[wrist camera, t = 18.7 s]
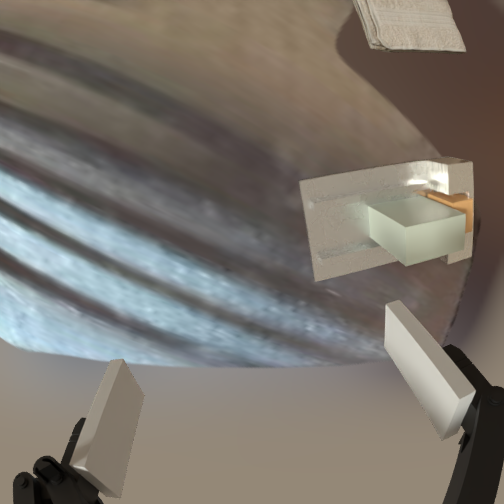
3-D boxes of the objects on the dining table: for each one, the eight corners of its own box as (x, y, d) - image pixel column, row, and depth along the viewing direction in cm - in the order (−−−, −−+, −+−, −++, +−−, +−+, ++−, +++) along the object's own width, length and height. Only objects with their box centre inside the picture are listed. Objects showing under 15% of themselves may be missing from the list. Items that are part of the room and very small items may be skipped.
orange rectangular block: (427, 193, 38) (452, 203, 32) (447, 189, 38) (472, 198, 32) (428, 223, 40) (452, 236, 34) (448, 219, 40) (472, 231, 34)
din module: (367, 205, 39) (405, 227, 29) (422, 195, 38) (465, 213, 29) (370, 237, 40) (405, 266, 31) (422, 225, 40) (464, 249, 31)
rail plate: (297, 180, 38) (309, 187, 32) (448, 156, 37) (472, 161, 32) (313, 279, 43) (324, 299, 37) (450, 243, 42) (471, 256, 37)
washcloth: (341, -16, 28) (348, -25, 25) (436, -9, 28) (447, -14, 25) (368, 55, 32) (378, 50, 30) (460, 55, 32) (472, 52, 29)
